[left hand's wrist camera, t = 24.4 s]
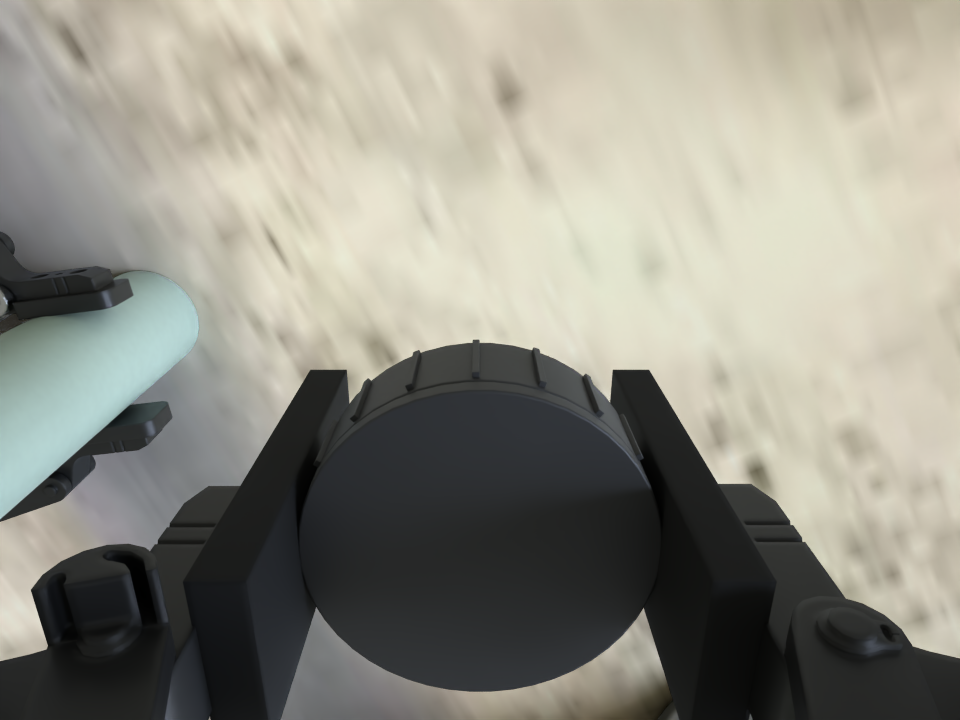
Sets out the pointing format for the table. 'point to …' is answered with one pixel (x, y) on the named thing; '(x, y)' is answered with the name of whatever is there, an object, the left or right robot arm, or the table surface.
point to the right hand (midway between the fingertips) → (141, 357)
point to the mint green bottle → (83, 376)
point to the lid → (480, 520)
